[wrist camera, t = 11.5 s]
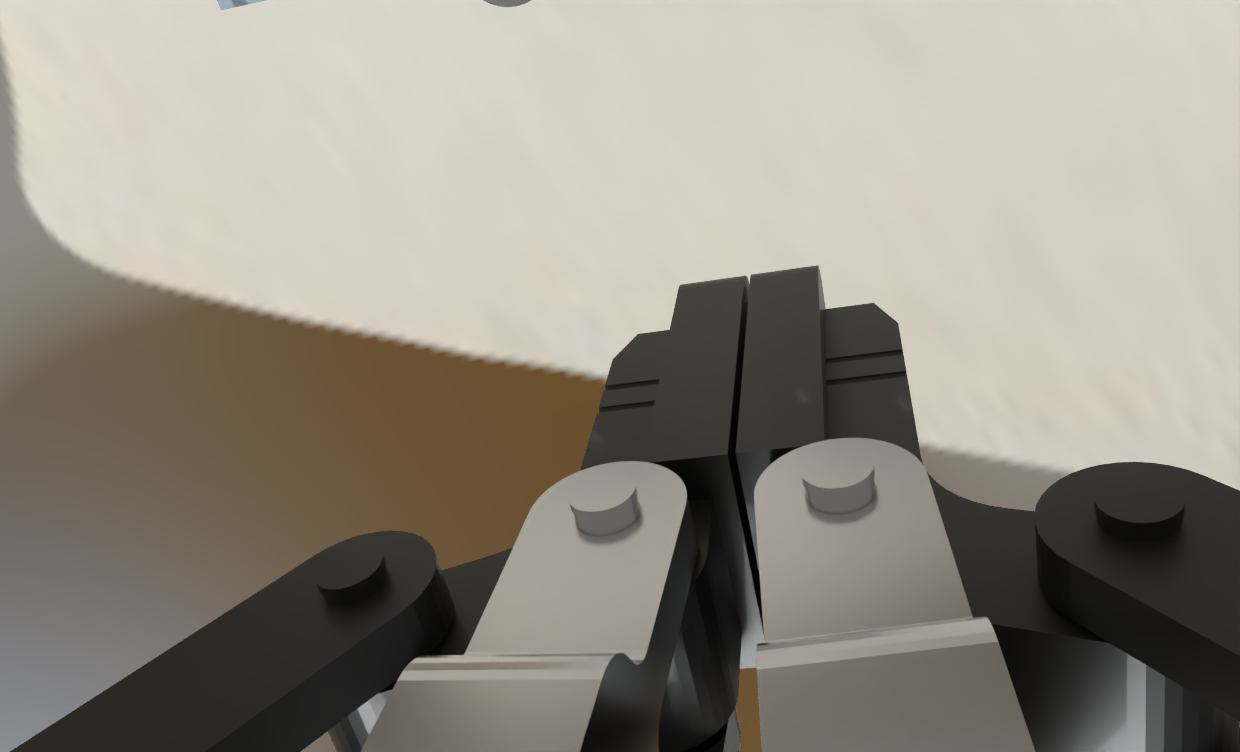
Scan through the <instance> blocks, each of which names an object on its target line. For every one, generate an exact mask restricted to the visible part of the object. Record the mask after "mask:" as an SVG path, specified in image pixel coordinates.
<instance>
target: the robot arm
mask: <svg viewBox="0 0 1240 752" xmlns="http://www.w3.org/2000/svg"><path fill="white" fill-rule="evenodd" d="M605 388H606V391H603V395H602V398H601V402H600V405H599V413H597V415H596V419H595V422H594V426H593V429H592V432H591V436H590V439H589V443H588V446H587V449H586V453H585V456H584V460H583V463H582V466H581V470H580V471H579V472H577V473H574V474H572V475H570V476H568V477H566V478H565V479H562V480H561V481H559V482H558V483H556V484H555V485H553V486H552V487H550V488H549V489H548V490H547V491H546V492H544V493H543V494H542V495H541V496H540V497H539V499H538V500H537V501H536V502H535V503H534V505H533V507H532V508H531V510H530V512H529V514H528V516H527V518H526V521H525V523H524V525H523V527H522V529H521V532H520V534H519V536H518V538H517V540H516V542H515V545H514V547H513V548H511V549H508V550H506V551H503V552H500V553H497V554H494V555H491V556H488V557H485V558H482V559H478V560H475V561H471V562H468V563H465V564H462V565H458V566H455V567H452V568H448V569H445V570H441V568H440V565H439V562H438V559H437V557H436V554H435V551H434V549H433V547H432V546H431V545H430V543H429V542H427V541H426V540H425V539H423V538H422V537H420V536H418V535H415V534H412V533H408V532H401V531H381V532H374V533H368V534H364V535H360V536H356V537H353V538H350V539H347V540H345V541H342V542H339V543H337V544H335V545H333V546H331V547H329V548H327V549H325V550H323V551H322V552H320V553H318V554H316V555H314V556H313V557H312V558H310V559H308V560H307V561H305V562H304V563H302V564H300V565H299V566H298V567H296V568H295V569H293V570H291V571H290V572H288V573H287V574H285V575H283V576H282V577H281V578H279V579H277V580H276V581H274V582H273V583H271V584H270V585H268V586H267V587H265V588H264V589H262V590H260V591H259V592H257V593H255V594H254V595H252V596H251V597H249V598H248V599H246V600H245V601H243V602H242V603H240V604H238V605H237V606H235V607H234V608H232V609H231V610H229V611H228V612H226V613H224V614H223V615H221V616H220V617H218V618H217V619H215V620H214V621H212V622H211V623H209V624H208V625H206V626H204V627H203V628H201V629H200V630H198V631H197V632H195V633H193V634H192V635H190V636H189V637H187V638H186V639H184V640H183V641H181V642H180V643H178V644H177V645H175V646H173V647H172V648H170V649H169V650H167V651H166V652H164V653H162V654H161V655H159V656H158V657H156V658H155V659H153V660H152V661H150V662H148V663H147V664H145V665H144V666H142V667H141V668H139V669H138V670H136V671H134V672H133V673H131V674H130V675H128V676H127V677H125V678H124V679H122V680H121V681H119V682H117V683H116V684H114V685H113V686H111V687H110V688H108V689H107V690H105V691H103V692H102V693H100V694H99V695H97V696H96V697H94V698H93V699H91V700H90V701H88V702H86V703H85V704H83V705H82V706H80V707H79V708H77V709H76V710H74V711H72V712H71V713H69V714H68V715H66V716H65V717H63V718H62V719H60V720H59V721H57V722H56V723H54V724H52V725H51V726H49V727H48V728H46V729H45V730H43V731H42V732H40V733H38V734H37V735H35V736H34V737H32V738H31V739H29V740H28V741H26V742H24V743H23V744H21V745H20V746H18V747H17V748H15V749H14V750H12V751H10V752H300V751H301V750H303V749H304V748H306V747H307V746H308V745H310V744H311V743H312V742H314V741H315V740H316V739H318V738H319V737H320V736H322V735H323V734H324V733H326V732H327V731H328V733H329V735H330V737H331V739H332V742H333V744H334V746H335V748H336V750H337V752H739V749H740V743H741V731H740V726H739V721H738V716H737V712H736V708H735V706H736V703H737V697H738V688H739V673H740V668H755V667H757V678H758V695H759V711H760V727H761V742H762V752H1240V727H1239V725H1240V491H1239V490H1236V489H1234V488H1232V487H1229V486H1227V485H1225V484H1222V483H1220V482H1217V481H1215V480H1213V479H1210V478H1208V477H1206V476H1203V475H1200V474H1198V473H1195V472H1192V471H1189V470H1186V469H1182V468H1178V467H1174V466H1169V465H1163V464H1156V463H1143V462H1122V463H1111V464H1103V465H1098V466H1094V467H1089V468H1085V469H1083V470H1080V471H1077V472H1074V473H1071V474H1069V475H1068V476H1066V477H1064V478H1062V479H1060V480H1058V481H1057V482H1056V483H1054V484H1053V485H1051V486H1050V487H1049V488H1048V489H1047V490H1046V491H1045V492H1044V494H1043V495H1042V496H1041V498H1040V499H1039V501H1038V503H1037V505H1036V510H1035V512H1034V511H1025V510H1016V509H1007V508H1001V507H994V506H989V505H985V504H981V503H977V502H973V501H971V500H968V499H965V498H962V497H959V496H958V495H956V494H954V493H952V492H950V491H948V490H946V489H945V488H944V487H942V486H941V485H939V484H938V483H937V482H936V481H935V480H934V479H933V478H932V477H931V476H930V475H929V474H928V472H927V471H926V469H925V467H924V465H923V463H922V459H921V455H920V449H919V443H918V438H917V432H916V426H915V420H914V414H913V408H912V403H911V397H910V391H909V385H908V379H907V374H906V367H905V362H904V356H903V350H902V344H901V338H900V332H899V327H898V323H897V322H896V321H895V320H894V319H892V318H891V317H890V316H889V315H887V314H886V313H885V312H884V311H883V310H881V309H880V308H879V307H878V306H877V305H875V304H874V303H870V304H863V305H855V306H847V307H840V308H832V309H825V302H824V295H823V288H822V282H821V275H820V270H819V266H811V267H803V268H796V269H789V270H782V271H775V272H768V273H761V274H754V275H751V278H750V284H749V281H748V278H747V276H741V277H733V278H726V279H719V280H712V281H705V282H698V283H691V284H683V285H680V286H679V289H678V294H677V299H676V304H675V308H674V313H673V318H672V322H671V327H670V330H666V331H658V332H651V333H643V334H638V335H637V336H636V337H635V338H634V339H633V340H632V341H631V342H630V343H629V344H628V345H627V346H626V347H625V348H624V349H623V350H622V351H621V352H620V353H619V354H618V355H617V356H616V357H615V358H614V359H613V361H612V364H611V367H610V371H609V374H608V378H607V381H606V385H605Z"/></svg>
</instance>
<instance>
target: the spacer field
mask: <svg viewBox="0 0 1240 752" xmlns="http://www.w3.org/2000/svg"><path fill="white" fill-rule="evenodd" d="M484 1H486V2H488V3H490V4H493V5H497V6H502V7H513V6H519V5H522V4H525V3H527V2H529V1H531V0H484Z"/></svg>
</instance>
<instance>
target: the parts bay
mask: <svg viewBox="0 0 1240 752" xmlns="http://www.w3.org/2000/svg"><path fill="white" fill-rule="evenodd" d="M217 1H218V4H219V6H220V9H221V10H225V9H229V8H234V7H238V6H243V5H247V4H252V3H256V2H261V1H265V0H217Z"/></svg>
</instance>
